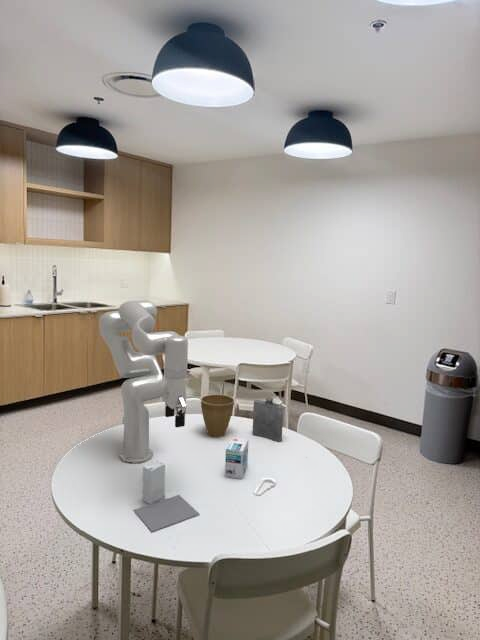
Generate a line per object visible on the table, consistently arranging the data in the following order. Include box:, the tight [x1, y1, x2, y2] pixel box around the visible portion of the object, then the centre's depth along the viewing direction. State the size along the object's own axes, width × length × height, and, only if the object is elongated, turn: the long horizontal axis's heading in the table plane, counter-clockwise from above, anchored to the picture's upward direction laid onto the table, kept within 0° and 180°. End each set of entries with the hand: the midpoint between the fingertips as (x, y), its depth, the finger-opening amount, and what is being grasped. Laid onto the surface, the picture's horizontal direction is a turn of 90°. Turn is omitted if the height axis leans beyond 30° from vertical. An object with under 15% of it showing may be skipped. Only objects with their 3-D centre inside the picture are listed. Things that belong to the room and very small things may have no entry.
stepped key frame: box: [253, 476, 277, 497], centre depth 156 cm, size 13×5×2 cm, turn 159°
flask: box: [251, 397, 284, 443], centre depth 198 cm, size 4×14×18 cm, turn 58°
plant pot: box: [200, 394, 235, 438], centre depth 199 cm, size 15×15×16 cm
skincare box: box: [142, 460, 166, 505], centre depth 145 cm, size 6×4×12 cm
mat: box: [133, 494, 200, 533], centre depth 139 cm, size 13×16×1 cm
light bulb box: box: [224, 437, 249, 480], centre depth 166 cm, size 11×7×11 cm, turn 168°
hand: (174, 421), depth 153 cm, fingers open, 9 cm apart
